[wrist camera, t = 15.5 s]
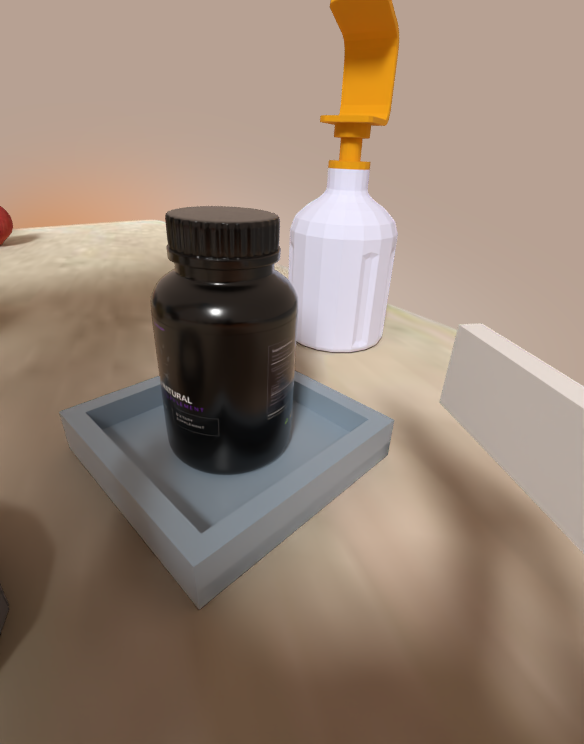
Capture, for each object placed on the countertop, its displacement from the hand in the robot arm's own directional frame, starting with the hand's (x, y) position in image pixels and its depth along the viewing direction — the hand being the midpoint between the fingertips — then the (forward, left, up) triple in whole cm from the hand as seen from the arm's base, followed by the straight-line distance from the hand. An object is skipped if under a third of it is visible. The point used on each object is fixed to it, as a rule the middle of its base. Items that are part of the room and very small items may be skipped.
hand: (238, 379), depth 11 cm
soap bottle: (-14, +23, -10) cm, 29 cm away
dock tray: (-7, +5, -10) cm, 13 cm away
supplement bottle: (-7, +5, -9) cm, 12 cm away
